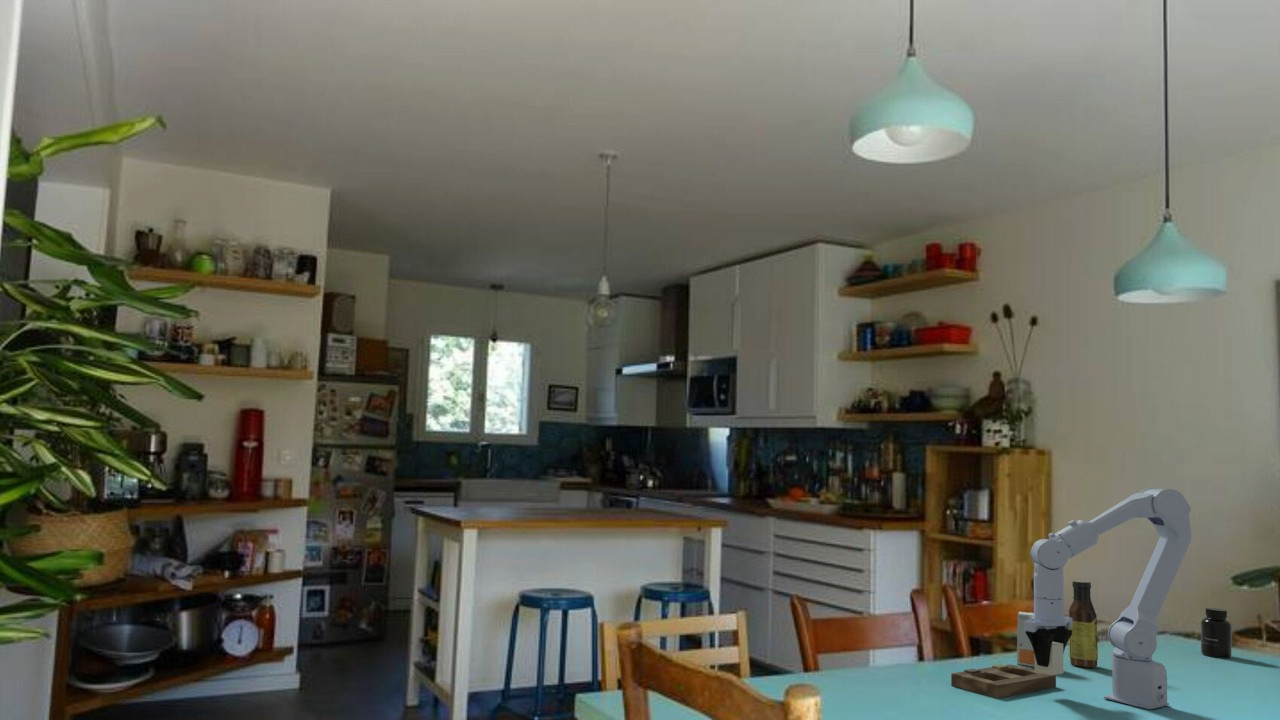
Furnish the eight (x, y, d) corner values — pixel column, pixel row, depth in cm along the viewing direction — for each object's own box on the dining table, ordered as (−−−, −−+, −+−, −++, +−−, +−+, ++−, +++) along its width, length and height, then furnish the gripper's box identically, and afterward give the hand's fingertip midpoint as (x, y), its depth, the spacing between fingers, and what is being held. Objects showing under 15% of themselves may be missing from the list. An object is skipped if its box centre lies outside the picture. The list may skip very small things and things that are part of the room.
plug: (1063, 673, 192) (1063, 643, 193) (1052, 675, 190) (1052, 645, 190) (1045, 669, 195) (1045, 639, 196) (1034, 671, 193) (1034, 641, 194)
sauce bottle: (1102, 669, 220) (1102, 583, 222) (1076, 668, 220) (1075, 582, 222) (1090, 663, 226) (1089, 580, 228) (1064, 662, 226) (1063, 579, 228)
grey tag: (980, 672, 199) (980, 670, 199) (971, 673, 197) (971, 671, 197) (973, 670, 201) (973, 668, 201) (964, 672, 199) (964, 670, 199)
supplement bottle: (1205, 657, 241) (1204, 609, 242) (1198, 652, 247) (1197, 606, 248) (1235, 659, 239) (1234, 612, 240) (1227, 654, 245) (1226, 608, 246)
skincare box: (1016, 664, 221) (1016, 613, 222) (1018, 661, 224) (1018, 611, 226) (1044, 668, 218) (1044, 616, 219) (1045, 665, 222) (1045, 614, 223)
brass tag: (1008, 667, 205) (1008, 666, 205) (999, 669, 203) (999, 667, 203) (1000, 666, 206) (1000, 664, 206) (992, 667, 205) (992, 665, 205)
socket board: (1055, 686, 200) (1055, 674, 200) (997, 698, 188) (997, 685, 188) (1009, 675, 209) (1009, 664, 209) (951, 685, 197) (951, 673, 197)
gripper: (1050, 593, 201) (1050, 657, 200) (1010, 596, 193) (1010, 664, 192) (1081, 598, 196) (1082, 664, 194) (1042, 602, 187) (1042, 671, 186)
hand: (1049, 664), depth 193 cm, fingers closed on plug, 4 cm apart
